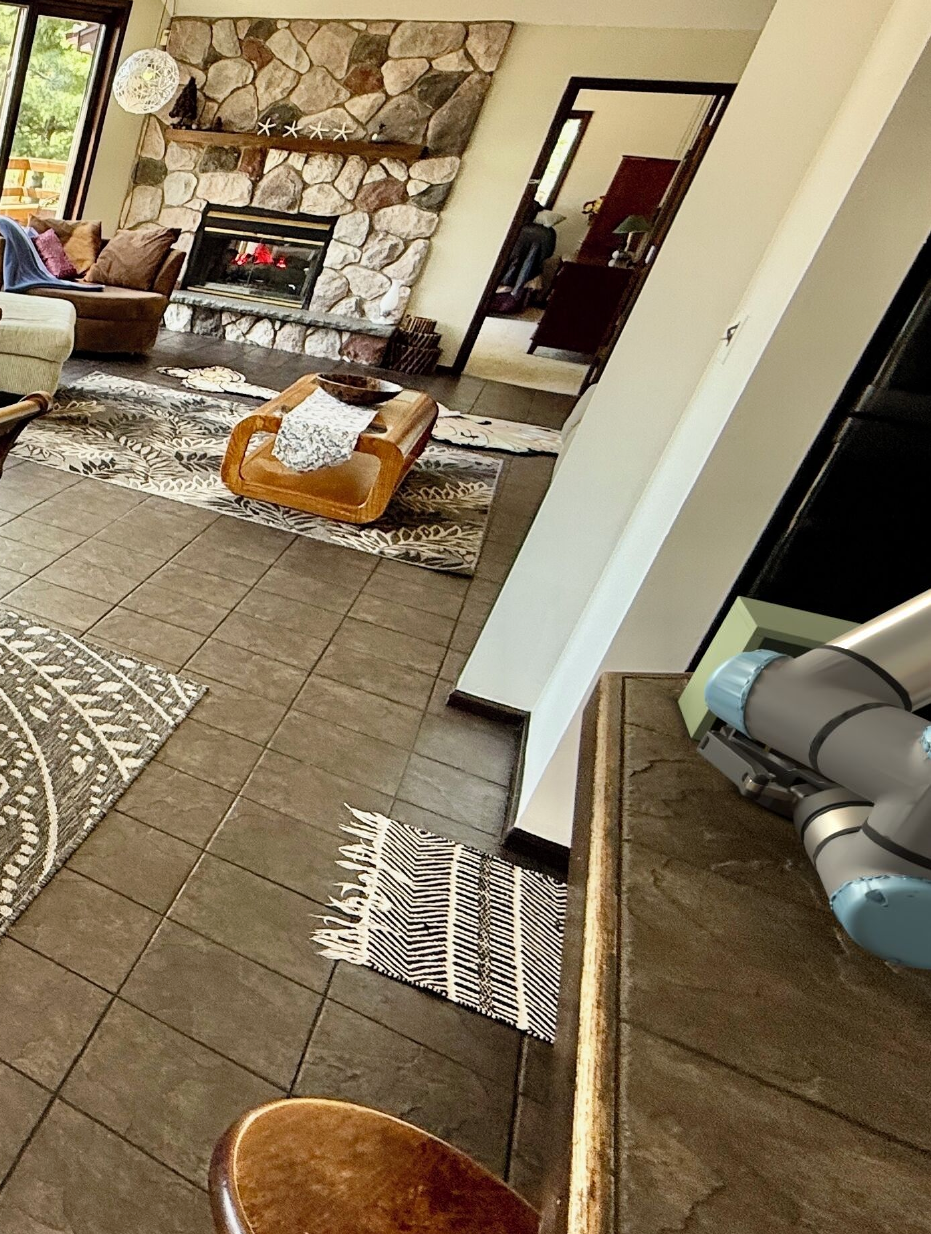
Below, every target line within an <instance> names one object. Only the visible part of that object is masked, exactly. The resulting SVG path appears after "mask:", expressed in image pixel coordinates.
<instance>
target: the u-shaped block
mask: <svg viewBox="0 0 931 1234" xmlns="http://www.w3.org/2000/svg"><path fill="white" fill-rule="evenodd" d="M861 625H862V623H858V622H853V621H849V620H846V619H845V620H844V619H840V618H838V617H837V618H836V617H831V616H828V615H823V614H819V613H814V612H810V611H806V610H801V609H798V608H794V607H793V608H792V607H788V606H784V605H780V604H776V603H771V602H767V601H763V600H758V599H753V598H749V597H745V596H740V595H738V596H737V597H736V599H735V601H734V603H733V604H732V606H731V607H730V610H729V611H728V613H727V615H726V617H725V618H724V620H723V622H722V623H721V626H720V627H719V629H718V630H717V632H716V634H715V636H714V637H713V639H712V641H711V643H710V644H709V647H708V648H707V650H706V652H705V654H704V655H703V657H702V658H701V660H700V662H699V664H698V666H697V667H696V669H695V671H694V672H693V675H692V676H691V678H690V680H689V681H688V682H687V684H686V686H685V688H684V690H683V692H682V693H681V695H680V696H679V698H678V700H677V703H678V706H679V708H680V711H681V712H682V717H683V719H684V722H685V725H686V729H687V730H688V733H689V735H690V738H691V739H693V740H696V741H700V742H701V740H702V739H703V737H704V735H705V734H706V732H707V730H711V728H712V726H713V725H714V723H715V721H716V720H717V718H718V717H717V716H716V715H715V714H713V713H712V712H711V710H710V709H709V708H708V707H707V706H706V701H705V698H704V690H705V685H706V683H707V681H708V679H709V677H710V676H711V674H712V673H713V672H714V671H715V670H716V668H717V667H718V666H720V665H721V664H722V663H723V662H725V661H726V660H727V659H729V658H731V657H733V656H735V655H737V654H740V653H742V652H753V651H756V650H761V649H762V650H770V651H774V652H777V653H779V654H786V655H788V656H791V657H793V658H794V659H795V658H797V657H800V656H802V655H804V654H805V653H807V652H809V651H811V650H813V649H815V648H817V647H819V646H822V645H824V644H826V643H828V642H830V641H832V640H834V639H836V638H838V637H839V636H841V635H843V634H845V633H847V632H849V631H851V630H853V629H855V628H857V627H859V626H861Z"/></svg>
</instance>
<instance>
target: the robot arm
mask: <svg viewBox="0 0 931 1234" xmlns="http://www.w3.org/2000/svg"><path fill="white" fill-rule="evenodd" d="M861 624H862V623H861ZM704 698H705V701H706V706H707V707H708V708H709V709H710V710H711V712H712V713H713V714H715V715H716V716H717V718H719V719H720V720H722V721H724V722H725V723H726V725H723V726H722V727H721V728H720V730H719V731H718V730H713V729H710V730H707V732H706V734H705V735H704V737H703V739H702V740H701V741H700V742H699V743H698V746H697V747H696V749H695V751H696V752H697V753H698V754H699V755H701V756H702V757H703V758H704V759H706V760H707V761H708V762H709V763H710V764H711V765H712V766H714V767H715V768H716V769H717V770H718V771H719V772H721V774H723V775H724V776H725V777H727V778H728V779H729V780H730V781H731V782H733V784H735V785H736V786H737V787H738V790H739V792H740V794H741V795H742V796H744V797H745V798H746V799H750V800H753V801H754V800H758V799H759V797H764V795H767V796H770V797H773V798H777V799H780V800H782V803H783V804H784V805H785V806H786V807H787V808H789V809H790V810H792V811H793V817H794V819H793V824H794V828H795V831H796V834H797V836H798V837H799V839H800V841H801V843H802V846H803V848H804V849H805V852H806V853H807V856H808V857H809V860H810V861H811V864H812V865H813V867H814V869H815V872H816V874H817V876H818V878H819V879H820V880H821V883H822V885H823V888H824V890H825V892H826V895H827V897H828V900H829V906H830V910H831V912H832V915H833V916H834V918H835V919H837V920H838V922H839V923H840V924H841V926H842V927H843V928H844V929H845V931H846V933H847V934H848V935H849V936H850V938H851V940H853V941H854V942H855V943H856V944H857V945H859V947H861V948H862V949H864V950H865V951H866V952H868V953H869V954H871V955H873V956H875V957H877V958H879V959H882V960H883V961H886V962H888V963H891V964H895V965H898V966H902V967H906V968H912V969H918V970H928V971H929V970H930V971H931V721H929V720H927V719H925V718H923V717H920V716H919V715H916V714H914V712H915V711H917V710H919V709H921V708H923V707H925V706H928V705H929V704H931V588H930V589H928V590H926V591H924V592H922V593H920V594H918V595H916V596H914V597H913V598H910V599H909V600H906V601H904V602H903V603H901V604H899V605H897V606H895V607H893V608H891V609H889V610H887V611H886V612H884V613H882V614H879V615H878V616H876V617H874V618H872V619H870V620H868V621H866V622H864V623H863V624H862V625H861V626H859V627H857V628H855V629H853V630H851V631H849V632H847V633H845V634H843V635H841V636H839V637H838V638H836V639H834V640H832V641H830V642H828V643H826V644H824V645H822V646H819V647H817V648H815V649H813V650H811V651H809V652H807V653H805V654H804V655H802V656H800V657H797V658H795V659H794V658H793V657H791V656H788V655H786V654H779V653H777V652H774V651H770V650H762V649H761V650H756V651H753V652H742V653H740V654H737V655H735V656H733V657H731V658H729V659H727V660H726V661H725V662H723V663H722V664H721V665H720V666H718V667H717V668H716V670H715V671H714V672H713V673H712V674H711V676H710V677H709V679H708V681H707V683H706V685H705V690H704ZM754 741H757V742H760V743H762V744H764V745H768V746H770V747H772V748H774V749H776V750H778V751H779V752H781V753H783V754H785V755H787V756H789V757H791V758H793V759H795V760H797V761H799V762H801V763H803V764H805V765H806V766H808V767H810V768H812V769H814V770H816V771H817V772H819V773H820V774H822V775H824V776H826V777H827V778H829V779H831V780H833V781H835V782H837V783H838V784H836V783H830V782H828V781H827V780H825V779H823V778H822V777H820V776H818V775H816V774H815V773H813V772H811V771H809V770H801V769H796V768H794V767H793V766H791V765H789V764H788V763H786V762H784V761H783V760H781V759H779V758H778V757H776V756H774V755H772V754H771V753H769V752H767V751H766V750H764V749H765V748H762V747H760V746H759V745H758V744H756V743H755V742H754ZM807 782H809V784H806V783H807ZM839 784H840V785H842V786H844V787H845V788H844V787H842V786H840V785H839Z"/></svg>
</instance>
